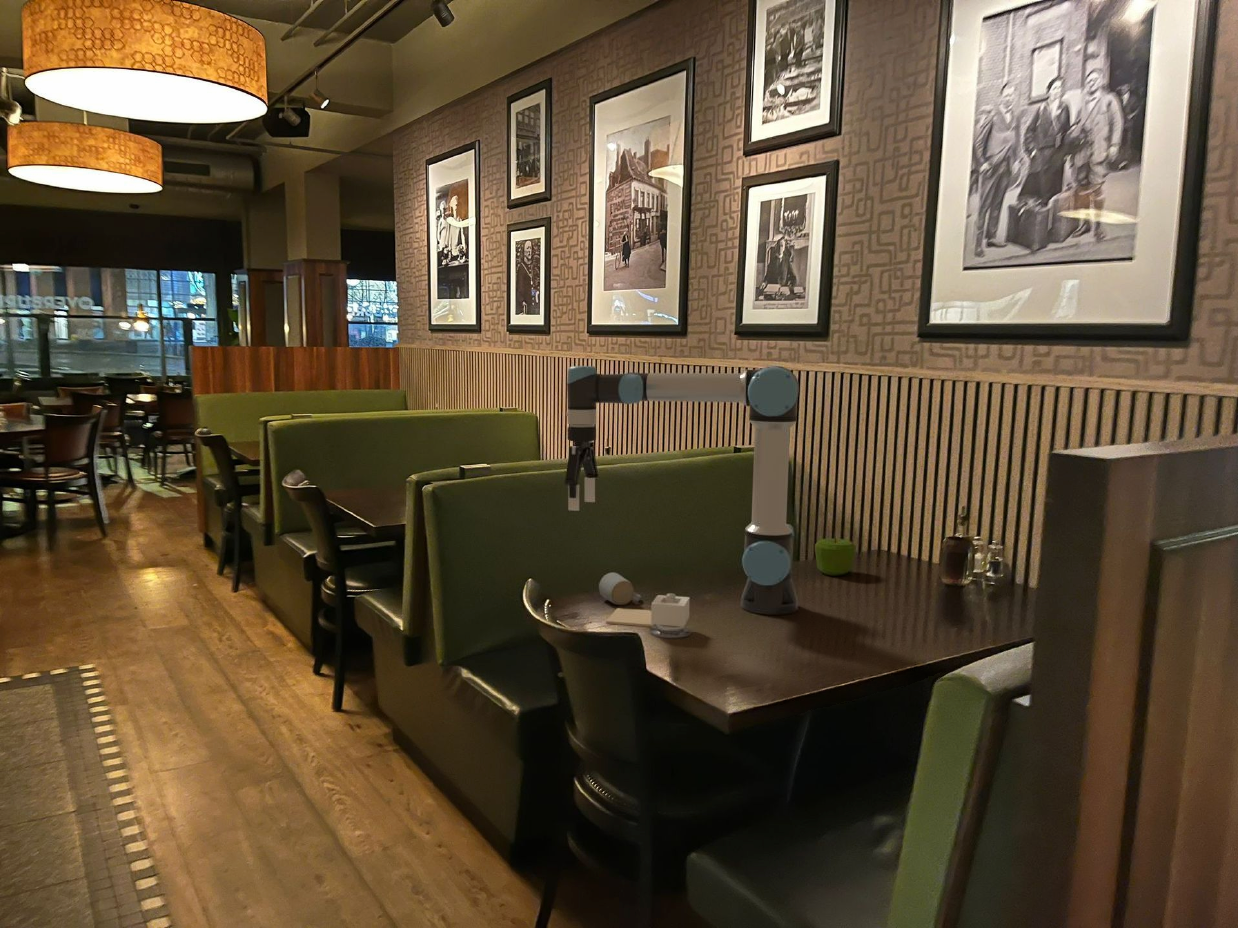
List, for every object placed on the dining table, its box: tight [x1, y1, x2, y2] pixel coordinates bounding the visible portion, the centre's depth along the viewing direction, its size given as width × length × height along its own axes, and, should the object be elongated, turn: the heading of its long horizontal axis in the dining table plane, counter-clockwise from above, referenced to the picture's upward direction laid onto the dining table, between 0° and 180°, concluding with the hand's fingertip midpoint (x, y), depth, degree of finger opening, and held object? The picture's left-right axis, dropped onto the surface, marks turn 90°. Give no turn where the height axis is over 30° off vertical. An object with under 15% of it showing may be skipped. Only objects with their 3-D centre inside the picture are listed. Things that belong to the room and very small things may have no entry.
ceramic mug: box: [598, 572, 642, 606], centre depth 244 cm, size 11×8×8 cm
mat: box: [605, 607, 655, 628], centre depth 230 cm, size 12×12×1 cm
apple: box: [814, 537, 857, 577], centre depth 277 cm, size 12×12×11 cm
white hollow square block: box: [650, 594, 690, 626], centre depth 218 cm, size 8×8×5 cm
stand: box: [649, 592, 692, 640], centre depth 218 cm, size 10×10×10 cm
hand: (582, 506), depth 235 cm, fingers open, 13 cm apart
